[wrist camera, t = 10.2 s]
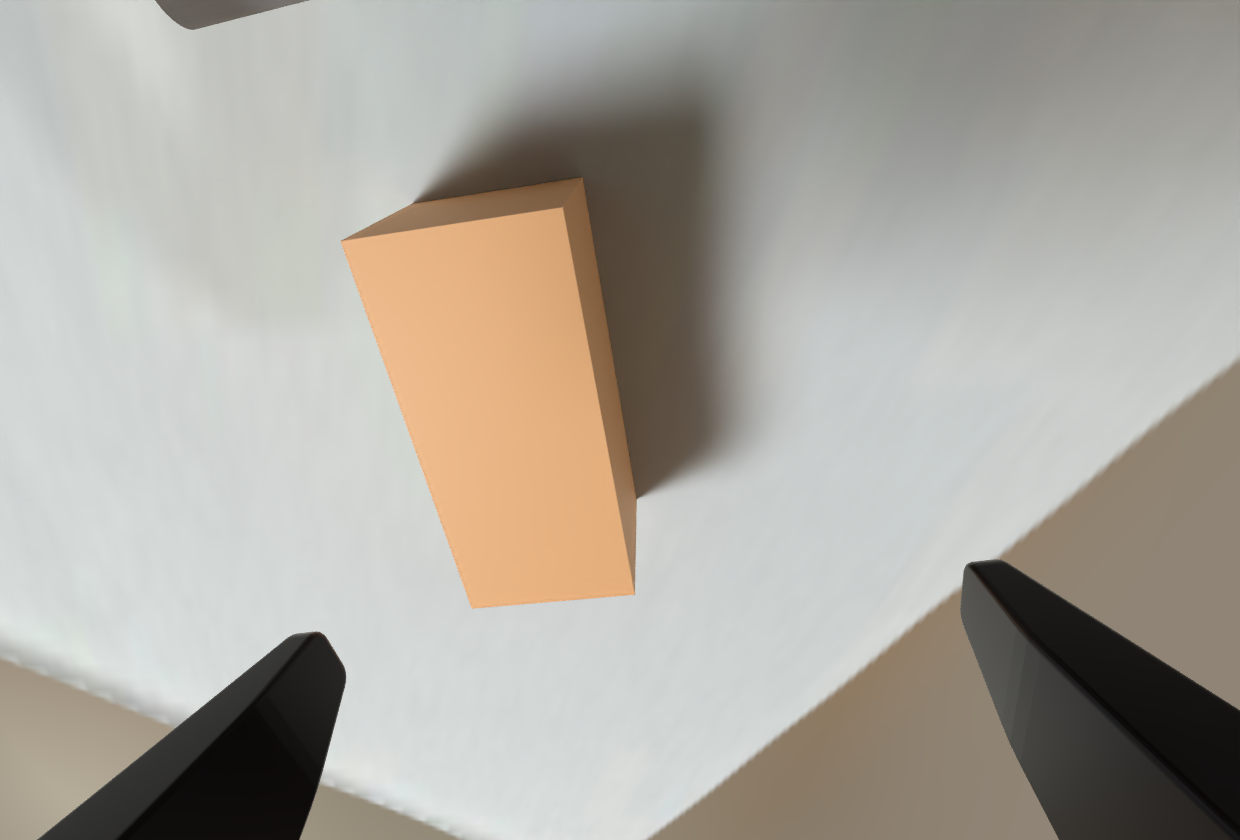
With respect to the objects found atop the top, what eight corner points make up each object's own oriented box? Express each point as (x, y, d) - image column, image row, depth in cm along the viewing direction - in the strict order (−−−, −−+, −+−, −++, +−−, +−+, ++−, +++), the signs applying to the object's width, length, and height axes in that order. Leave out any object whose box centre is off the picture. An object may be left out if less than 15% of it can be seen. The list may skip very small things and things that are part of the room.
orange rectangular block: (583, 176, 16) (562, 207, 12) (636, 495, 20) (635, 594, 17) (414, 202, 16) (340, 241, 12) (504, 509, 21) (472, 608, 17)
